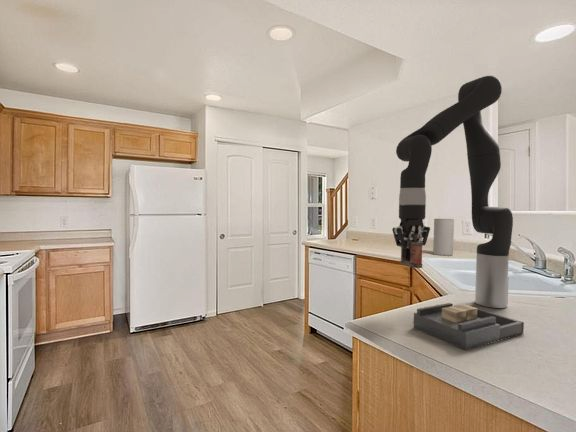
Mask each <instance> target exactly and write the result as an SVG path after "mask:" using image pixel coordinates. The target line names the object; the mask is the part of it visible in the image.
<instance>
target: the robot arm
mask: <svg viewBox="0 0 576 432" xmlns="http://www.w3.org/2000/svg"><path fill="white" fill-rule="evenodd" d="M502 90H503V86H502V82H501V81H500V79H499V78H498V77H496V76H494V75H484V76H481V77H478V78H475V79H472V80H471V81H468V82H466V83H464V84H462V85H461V87H460V88H459V90H458V95H457V100H458V101H457V102H456V103H454V104H452V105H451V106H449V107H447V108H445V109H443V110H442V111H440V112H439V113H437V114H436V115H434V116H433V117H432V118H431V119H429V120H428V121H427V122H426V123H425V124H424V125H422V126H421V127H420V128H419V129H418V128H417V130H415V131H413V132H411V133H410V134H408V135H407V136H405V137H404V138H402V139H401V140H400V141H399V142H398V144H397V146H396V150H395V154H396V156H397V158H398V159H399V160H401V161H402V162H408V165H407V167H406V168H404V169H403V170H402V171H401V172H400V177H399V178H400V180H399V181H400V183H399V184H400V185H399V188H400V189H399V196H398V197H399V198H398V218H399V220H400V223H399V224H398V225H399V226H397V227H392V234H393V236H394V237H393V238H394V241H395V244H396V246H397V247H400V248H401V247H402V259H403V260H404V261H410V249H409V248H410V242H411V241H412V240H413V234H420V235H421V238H417V241H419V242H423V245H422V247H423V246H425V245H427V240H428V237H429V234H430V231H431V227H430V226H425V225H424V221H423V220H425V219H426V207H427V206H426V205H427V204H426V203H427V202H426V201H427V200H426V199H427V195H426V173H427V170H428V167H429V165H430V160H431V157H432V151H433V150H432V149H433V148H432V146H435V145H437V144H439V143H440V142H441V141H442V140H443V139H445V138H446V137H447V136H448V135H450V134H451V133H452V132H453V131H455V130H456V129H457V128H458V127H459V126H461V125H462V124H463V130H464V137H465V144H466V155H467V165H468V171H469V180H470V181H469V182H470V190H471V191H470V192H471V193H470V194H471V224H472V226H473V229H474V230H475V231H476V232H477V233H480V234H488V235H489V234H490V235H492V237H491V239H490V240H489V241H487V242H483V243H480V244H477V247H476V261H475V262H476V264H475V265H476V266H475V267H476V268H475V289H474V290H475V292H474V295H475V296H474V302H475V304H477V305H479V306H482V307H483V306H484V307H487V308H492V309H493V308H495V309H505V308H507V306H508V305H509V284H510V283H509V260H510V259H509V256H510V248H511V245H512V235H513V228H514V227H513V226H514V218H513V217H514V216H513V213H512V210H511V209H510V208H508V207H506V206H505V207H504V206H503V207H502V206H489V193H490V190H491V187H492V185H493V184H494V181H495V179H496V178H497V177H498V174H499V173H500V170H501V167H502V166H501V165H502V161H501V152H500V147H499V144H498V142H497V140H496V139H495V138H494V137H493V135H492V134H491V133H490V132H489V130H488V129H487V127H486V126H485V124H484V121H483V117H482V113H481V111H482V110H485V109H486V108H488V107H490V106H491V105H493V104H495V103H497V101H499V100H500V98H501V95H502ZM406 237H408V238H406ZM406 240H407V242H406ZM405 242H406V244H405Z"/></svg>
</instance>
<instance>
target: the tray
mask: <svg viewBox="0 0 576 432" xmlns="http://www.w3.org/2000/svg"><path fill="white" fill-rule="evenodd" d="M476 308H477V307H476ZM490 316H493V317H496V324H499V325H500V336H499V340H500V341H502V340H501V339H503V340H506V339H505V338H507V339H509V338H508V337H510V338H513V336H514V337H516V335H517V336H520V335H524V329H525V327H524V326H525V325H524V324H525V322H524V321H520V320H517V319H513V318H510V317H507V316H505V315H504V316H503V315H501V314H497V313H495V312H491V311H487V310H483V309H481V308H477V317H478V318H481V319H482V318H486V317H490Z"/></svg>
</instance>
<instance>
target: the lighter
mask: <svg viewBox="0 0 576 432" xmlns="http://www.w3.org/2000/svg"><path fill="white" fill-rule="evenodd" d="M406 238H408V237H406ZM417 238H421V235H420V234H413V240H412V241H411V242H410V248H409V249H410V261H404V260H403V259H402V247H400V261H399V263H400V264H399V265H403V266H405V267H409V268H413V269H423V246H424V245H423V242H419V241H417ZM406 242H407V240H406ZM406 242H405V244H406ZM422 245H423V246H422Z"/></svg>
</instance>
